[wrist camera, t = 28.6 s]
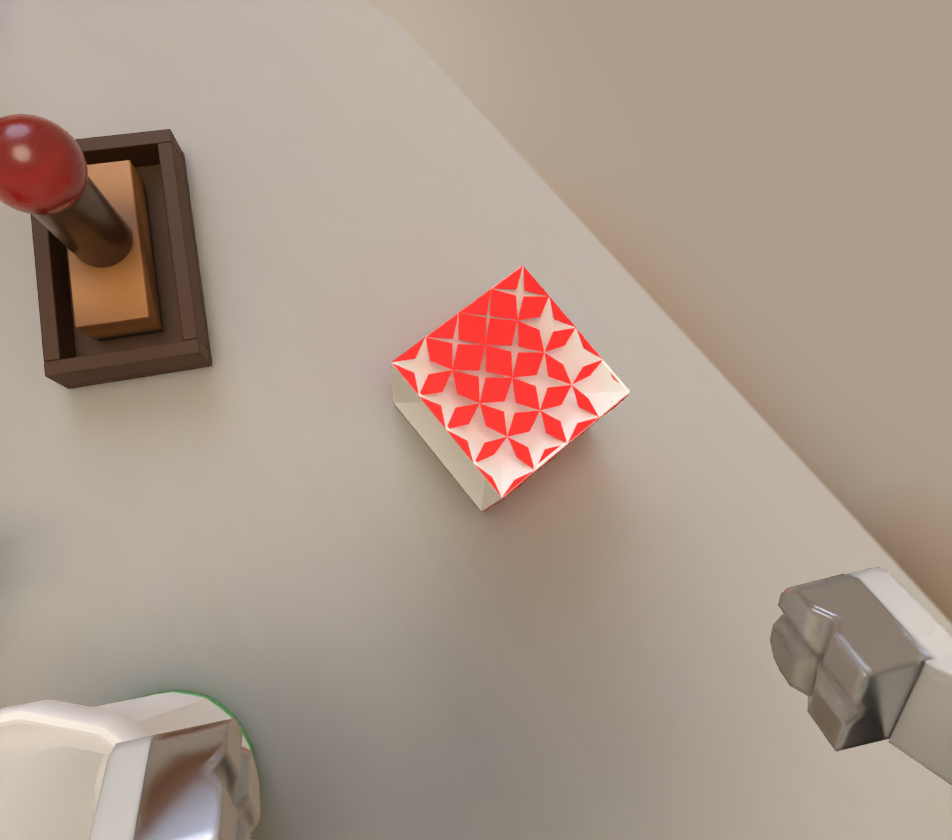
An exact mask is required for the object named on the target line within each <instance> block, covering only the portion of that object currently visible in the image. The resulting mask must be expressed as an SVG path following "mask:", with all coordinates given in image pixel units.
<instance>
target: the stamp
mask: <svg viewBox="0 0 952 840" xmlns="http://www.w3.org/2000/svg"><path fill="white" fill-rule="evenodd" d="M0 200H1V201H2V202H3V203H5V204H6V205H8V206H10V207H12V208H14V209H16V210H18V211H21V212H25V213H28V214H32V215H33V216H34V217H35V218H36V219H38V220H39V221H40V222H41V223H42V224H43V225H44V226H45V227H46V228H47V229H48V230H49V231H50V232H51V233H52V234H53V235H54V236H55V237H56V238H58V239H59V240H60V241H61V242H62V243H63V244H64V245H65V246H66V247H67V249H68V259H69V269H70V279H71V289H72V299H73V309H74V319H75V327H76V328H77V329H78V330H80V331H81V332H83V333H84V334H85V335H87V336H88V337H89V338H91V339H96V340H98V341H102V340H109V339H115V338H122V337H129V336H135V335H142V334H149V333H155V332H162V331H163V327H162V319H161V311H160V303H159V295H158V287H157V279H156V271H155V263H154V255H153V247H152V239H151V231H150V223H149V215H148V206H147V198H146V190H145V186H144V185H143V179H142V178H141V176H140V175H139V173H138V172H137V170H136V169H135V167H134V166H133V164H132V163H131V161H130V160H125V161H117V162H108V163H100V164H91V165H87V162H86V159H85V156H84V154H83V152H82V150H81V148H80V146H79V145H78V143H77V142H76V141H75V139H74V138H73V137H72V136H71V135H70V134H69V133H68V132H67V131H65V130H64V129H63V128H61V127H60V126H59V125H57V124H55V123H53V122H52V121H50V120H47V119H45V118H42V117H38V116H35V115H27V114H15V115H9V116H5V117H3V118H0Z"/></svg>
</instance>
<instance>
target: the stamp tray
mask: <svg viewBox="0 0 952 840" xmlns="http://www.w3.org/2000/svg"><path fill="white" fill-rule="evenodd" d="M75 141H76V142H77V143H78V145H79V146H80V148H81V150H82V152H83V154H84V156H85V159H86V162H87V165H91V164H100V163H108V162H117V161H125V160H130V161H131V163H132V164H133V166H134V167H135V169H136V170H137V172H138V173H139V175H140V176H141V178H142V179H143V185H144V186H145V190H146V198H147V206H148V215H149V223H150V231H151V239H152V247H153V255H154V263H155V271H156V279H157V287H158V295H159V303H160V311H161V319H162V327H163V331H162V332H155V333H149V334H142V335H135V336H129V337H122V338H115V339H109V340H102V341H98V340H96V339H91V338H89V337H88V336H87V335H85V334H84V333H83V332H81V331H80V330H78V329H77V328H76V327H75V319H74V309H73V299H72V289H71V279H70V269H69V259H68V249H67V247H66V246H65V245H64V244H63V243H62V242H61V241H60V240H59V239H58V238H56V237H55V236H54V235H53V234H52V233H51V232H50V231H49V230H48V229H47V228H46V227H45V226H44V225H43V224H42V223H41V222H40V221H39V220H38V219H36V218H35V217H34V216H33V215H32V214H31V222H32V233H33V244H34V255H35V266H36V278H37V289H38V300H39V311H40V322H41V333H42V345H43V356H44V361H45V362H44V368H45V376H46V377H48V378H49V379H51V380H53V381H55V382H57V383H59V384H61V385H63V386H64V387H66V388H74V387H81V386H87V385H93V384H100V383H106V382H112V381H119V380H125V379H131V378H138V377H144V376H150V375H157V374H163V373H169V372H176V371H182V370H189V369H195V368H201V367H208V366H212V359H211V352H210V344H209V337H208V329H207V322H206V315H205V307H204V300H203V292H202V285H201V278H200V270H199V263H198V255H197V248H196V241H195V233H194V226H193V219H192V211H191V204H190V196H189V189H188V182H187V174H186V167H185V159H184V154H183V152H182V150H181V148H180V147H179V145H178V143H177V141H176V139H175V137H174V135H173V133H172V131H171V130H170V129H166V130H157V131H148V132H139V133H130V134H121V135H112V136H103V137H94V138H85V139H76V140H75Z"/></svg>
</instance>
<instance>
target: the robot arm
mask: <svg viewBox="0 0 952 840" xmlns="http://www.w3.org/2000/svg"><path fill="white" fill-rule="evenodd" d="M778 606H779V607H780V609H781V610H782V611H783V613H784V614H783V615H782V616H781V617H780V618H779V619H778V620H777V621H776V622H775V623H774V624H773V627H772V633H771V638H770V642H771V647H772V652H773V657H774V659H775V661H776V663H777V666H778V668H779V670H780V672H781V673H782V675H783V676H784V678H785V679H786V681H787V682H788V684H789V685H790V686H791V687H793V688H795V689H797V690H798V691H800V692H802V693H804V694H805V695H807V696H808V713H809V714H810V716H811V717H812V718H813V720H814V721H815V723H816V724H817V725H818V727H819V728H820V730H821V731H822V733H823V734H824V735H825V737H826V738H827V740H828V741H829V743H830V744H831V745H832V747H833V748H834V750H835V751H840V750H844V749H848V748H852V747H856V746H860V745H865V744H869V743H873V742H877V741H881V740H885V739H890V740H889V743H891V744H892V745H894V746H895V747H897V748H898V749H899V750H901V751H902V752H904V753H905V754H907V755H908V756H910V757H911V758H913V759H914V760H916V761H917V762H918V763H920V764H921V765H923V766H924V767H926V768H927V769H929V770H930V771H932V772H933V773H934V774H936V775H937V776H939V777H940V778H942V779H943V780H945V781H946V782H948V783H949V784H951V785H952V635H951V634H950V633H949V632H948V631H947V630H946V629H945V628H944V627H943V626H942V625H941V624H940V623H939V622H938V621H937V620H936V619H935V618H934V617H933V616H932V615H931V614H930V613H929V612H928V611H927V610H926V609H925V608H924V607H923V606H922V605H921V604H920V603H919V602H918V601H917V600H916V599H915V598H914V597H913V596H912V595H911V594H910V593H909V592H908V591H907V590H906V589H905V588H904V587H903V586H902V585H901V584H900V583H899V582H898V581H897V580H896V579H895V578H894V577H893V576H892V575H891V574H890V573H889V572H888V571H886V570H884V569H882V568H880V567H876V568H870V569H866V570H862V571H858V572H854V573H850V574H846V575H845V574H841V575H837V576H833V577H829V578H825V579H821V580H817V581H813V582H809V583H805V584H801V585H797V586H793V587H789V588H787V589H786V590H785V591H784V592H782V593H781V596H780V600H779V603H778ZM242 732H243V731H242V729H241V727H240V725H239V723H238V721H237V719H236V718H231V719H226V720H222V721H217V722H212V723H208V724H203V725H198V726H194V727H189V728H185V729H180V730H175V731H171V732H166V733H161V734H155V735H151V736H146V737H142V738H138V739H133V740H129V741H125V742H120V743H116V744H115V746H114V748H113V750H112V752H111V753H110V755H109V757H108V760H107V764H106V769H105V773H104V777H103V781H102V786H101V790H100V794H99V798H98V803H97V807H96V811H95V816H94V820H93V824H92V828H91V833H90V837H89V840H252V839H251V837H250V836H251V834H252V833H253V831H254V829H255V828H256V826H257V825H258V823H259V821H260V810H261V795H260V784H259V775H258V770H257V766H256V762H255V759H254V757H253V754H252V752H251V750H249V749H247V748H245V747H242Z"/></svg>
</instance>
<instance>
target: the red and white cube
mask: <svg viewBox="0 0 952 840" xmlns="http://www.w3.org/2000/svg"><path fill="white" fill-rule="evenodd" d="M391 368H392V389H393V403H394V404H395V405H396V406H397V408H398V409H399V410H400V411H401V412H402V414H403V415H404V416H405V417H406V419H407V420H408V421H409V422H410V424H411V425H412V426H413V427H414V429H415V430H416V431H417V432H418V433H419V435H420V436H421V437H422V438H423V440H424V441H425V442H426V443H427V445H428V446H429V447H430V448H431V450H432V451H433V452H434V453H435V455H436V456H437V457H438V458H439V459H440V461H441V462H442V463H443V464H444V466H445V467H446V468H447V469H448V471H449V472H450V473H451V474H452V476H453V477H454V478H455V479H456V480H457V482H458V483H459V484H460V485H461V487H462V488H463V489H464V490H465V492H466V493H467V494H468V495H469V497H470V498H471V499H472V500H473V501H474V503H475V504H476V505H477V506H478V508H479V509H480V510H481V511H484V510H486V509H488V508H489V507H491V506H492V505H494V504H495V503H497V502H499V501H500V500H502V499H504V496H507V495H508V494H509V493H511V492H512V491H514V490H515V489H517V488H518V487H519V486H520V485H521V484H522V483H523V482H525V481H526V480H527V479H528V478H529V477H530V476H531V475H532V474H533V473H534V472H535V471H537V470H539V468H540V467H542V466H543V465H544V464H546V463H547V462H549V461H550V460H551V459H552V458H554V457H555V456H556V455H557V454H558V453H559V452H560V451H561V450H562V449H563V448H564V447H565V446H567V445H568V444H570V442H572V441H573V440H574V439H576V438H577V437H579V436H580V435H582V434H583V433H584V432H585V431H586V430H587V429H588V428H589V427H590V426H591V425H592V424H593V423H595V422H596V421H598V419H599V418H601V417H602V416H603V415H605V414H606V413H608V412H609V411H610V410H612V409H613V408H615V407H616V406H617V405H618V404H619V403H620V402H621V401H623V400H624V399H625V398H626V396H627V394H629V393H630V391H629V390H628V388H627V387H626V386H625V385H624V384H623V382H622V381H621V380H620V379H619V378H618V377H617V375H616V374H615V373H614V372H613V371H612V370H611V368H610V367H609V366H608V365H607V364H606V363H605V361H604V360H603V359H602V358H601V357H600V355H599V354H598V353H597V352H596V351H595V350H594V348H593V347H592V346H591V345H590V344H589V343H588V341H587V340H586V339H585V338H584V337H583V336H582V334H581V333H580V332H579V331H578V330H577V328H576V327H575V326H574V325H573V324H572V323H571V321H570V320H569V319H568V318H567V317H566V316H565V314H564V313H563V312H562V311H561V310H560V309H559V307H558V306H557V305H556V304H555V303H554V301H553V300H552V299H551V298H550V297H549V296H548V294H547V293H546V292H545V291H544V290H543V289H542V287H541V286H540V285H539V284H538V283H537V281H536V280H535V279H534V278H533V277H532V276H531V274H530V273H529V272H528V271H527V270H526V269H525V267H524V266H523V265H522V266H520V267H519V268H518V269H516V270H515V271H514V272H512V273H511V274H510V275H508V276H507V277H506V278H504V279H503V280H502V281H500V282H499V283H497V284H496V285H495V286H493V287H492V288H491V289H490V290H488V291H487V292H485V293H484V294H483V295H481V296H480V297H479V298H477V299H476V300H475V301H473V302H472V303H471V304H469V305H468V306H467V307H465V308H464V309H463V310H461V311H460V312H459V313H457V314H456V315H454V316H453V317H452V318H450V319H449V320H448V321H446V322H445V323H444V324H442V325H441V326H440V327H438V328H437V329H436V330H434V331H433V332H432V333H430V334H429V335H428V336H426V337H425V338H424V339H422V340H421V341H420V342H418V343H417V344H415V345H414V346H413V347H411V348H410V349H409V350H407V351H406V352H405V353H403V354H402V355H401V356H399V357H398V358H397V359H395V360H394V361H393V362H391ZM616 403H617V404H616ZM615 404H616V405H615ZM614 405H615V406H614ZM523 480H524V481H523ZM522 481H523V482H522Z"/></svg>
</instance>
